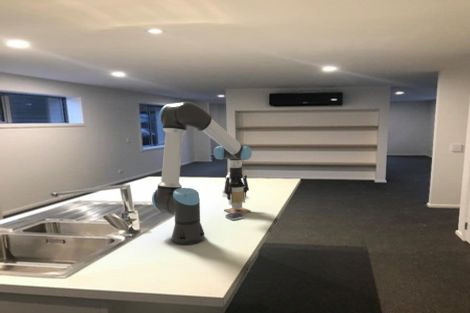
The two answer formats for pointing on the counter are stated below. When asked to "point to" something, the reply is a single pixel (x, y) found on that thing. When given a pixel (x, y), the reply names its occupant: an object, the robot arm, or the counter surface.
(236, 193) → the coffee cup
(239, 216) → the ink pad
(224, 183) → the white tiered cone
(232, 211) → the board
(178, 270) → the counter surface
